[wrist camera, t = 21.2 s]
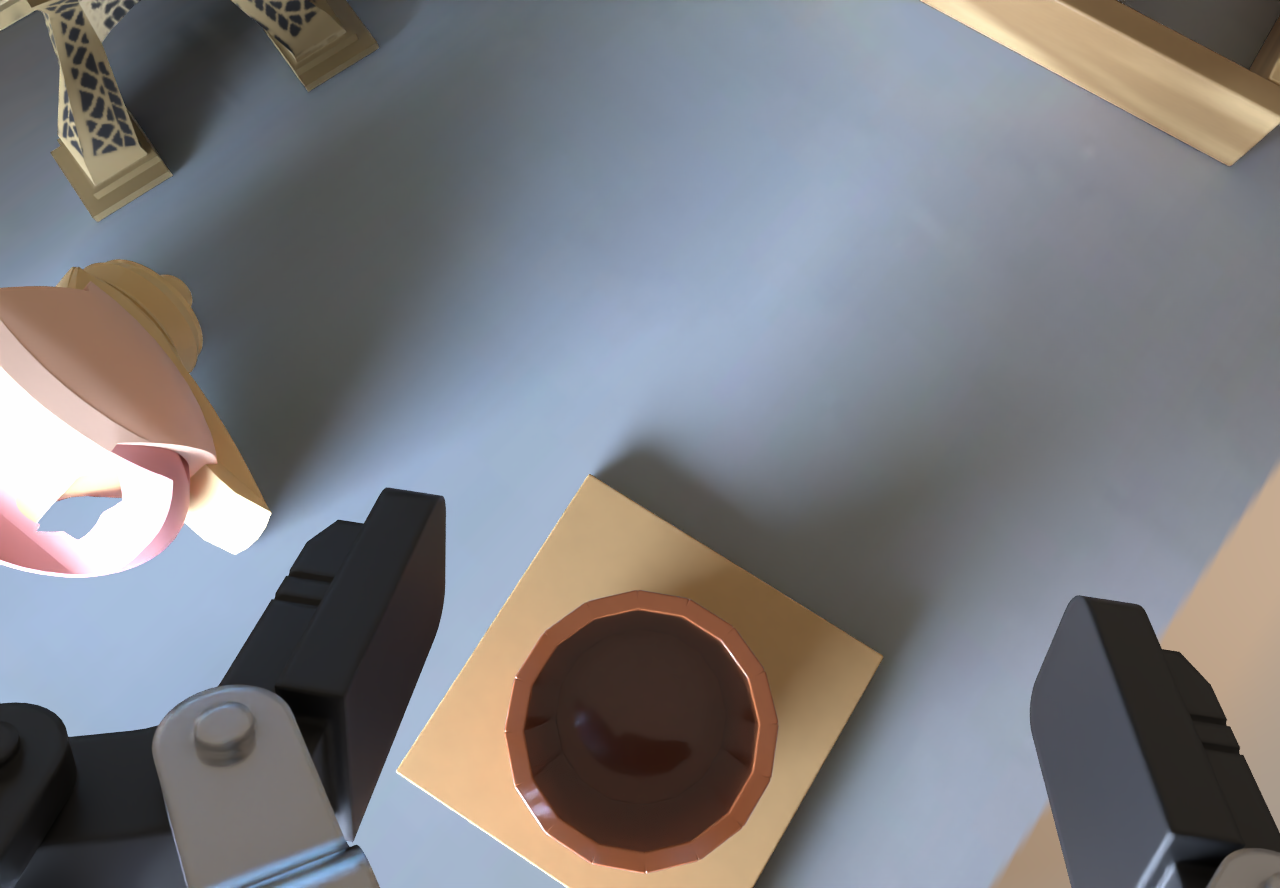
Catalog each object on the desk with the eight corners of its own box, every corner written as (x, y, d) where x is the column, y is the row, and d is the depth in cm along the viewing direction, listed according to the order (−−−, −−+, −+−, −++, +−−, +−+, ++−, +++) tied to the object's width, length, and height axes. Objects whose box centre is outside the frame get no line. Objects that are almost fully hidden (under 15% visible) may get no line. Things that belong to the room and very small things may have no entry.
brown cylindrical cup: (772, 683, 30) (826, 684, 22) (672, 855, 29) (686, 928, 21) (611, 582, 31) (600, 542, 22) (507, 746, 30) (453, 772, 21)
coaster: (880, 656, 31) (884, 656, 31) (701, 973, 29) (701, 978, 29) (589, 476, 32) (589, 473, 32) (399, 770, 30) (394, 771, 30)
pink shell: (39, 266, 34) (160, 111, 28) (272, 484, 37) (426, 387, 31) (-222, 450, 28) (-141, 301, 22) (84, 692, 31) (232, 623, 25)
